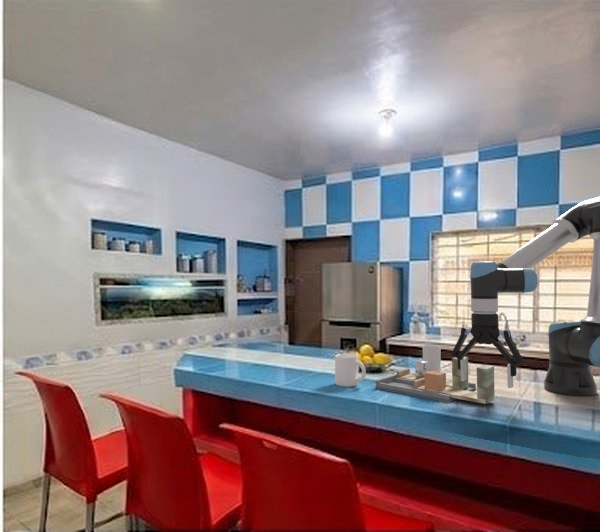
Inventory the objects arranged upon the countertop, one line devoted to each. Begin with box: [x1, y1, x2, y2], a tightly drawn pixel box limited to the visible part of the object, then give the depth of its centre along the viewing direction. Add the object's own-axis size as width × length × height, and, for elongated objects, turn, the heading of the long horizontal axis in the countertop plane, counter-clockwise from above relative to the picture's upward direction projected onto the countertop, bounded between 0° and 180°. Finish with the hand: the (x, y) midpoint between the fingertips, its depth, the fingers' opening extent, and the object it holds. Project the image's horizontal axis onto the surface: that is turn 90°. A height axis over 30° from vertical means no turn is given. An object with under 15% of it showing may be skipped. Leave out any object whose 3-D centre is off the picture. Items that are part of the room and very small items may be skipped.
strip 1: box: [396, 356, 469, 389], centre depth 151 cm, size 24×8×10 cm, turn 47°
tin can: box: [414, 360, 428, 379], centre depth 154 cm, size 4×4×6 cm
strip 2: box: [413, 364, 496, 405], centre depth 136 cm, size 24×8×10 cm, turn 47°
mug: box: [334, 353, 367, 388], centre depth 153 cm, size 12×8×10 cm
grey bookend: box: [422, 344, 442, 372], centre depth 168 cm, size 10×7×12 cm, turn 140°
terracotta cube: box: [424, 371, 447, 391], centre depth 139 cm, size 5×5×5 cm
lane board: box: [375, 372, 477, 403], centre depth 147 cm, size 26×22×3 cm
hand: (486, 383), depth 129 cm, fingers open, 13 cm apart
